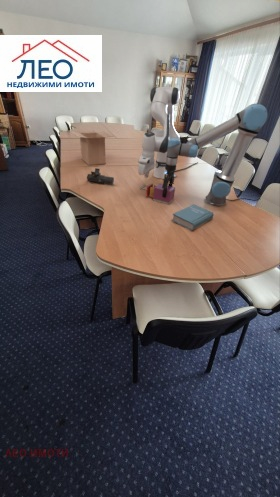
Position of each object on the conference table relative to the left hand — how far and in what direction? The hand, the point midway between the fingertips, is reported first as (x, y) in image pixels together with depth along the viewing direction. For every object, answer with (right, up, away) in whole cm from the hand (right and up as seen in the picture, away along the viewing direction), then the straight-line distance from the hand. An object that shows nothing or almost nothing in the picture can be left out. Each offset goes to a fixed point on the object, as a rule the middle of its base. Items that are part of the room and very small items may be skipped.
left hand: (146, 177), depth 164 cm
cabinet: (+13, -16, +3) cm, 21 cm away
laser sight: (-39, +3, +23) cm, 45 cm away
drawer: (+4, -12, +5) cm, 14 cm away
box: (-55, +41, +73) cm, 100 cm away
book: (+29, -34, -21) cm, 50 cm away
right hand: (+15, -13, -1) cm, 20 cm away
